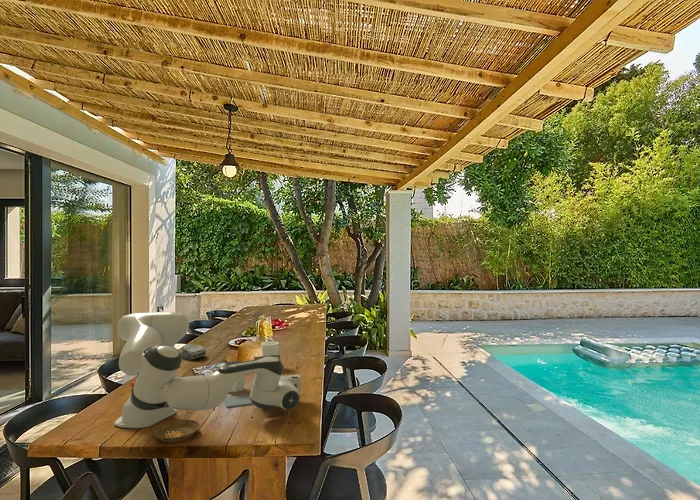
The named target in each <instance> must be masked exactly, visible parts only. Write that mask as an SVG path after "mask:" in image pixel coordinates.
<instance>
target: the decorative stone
mask: <svg viewBox="0 0 700 500" xmlns="http://www.w3.org/2000/svg"><path fill="white" fill-rule="evenodd" d="M180 351H181V352H180V353H181V355H182V359H185V360H188V361H191V360H195V359H199V358H202V357H204V356H206V354H207V353H206V352H207V350H206V349H205V348H204V346H203V345H195V344H190V343H188V344H185V345H183V347H182V348H181V350H180Z"/></svg>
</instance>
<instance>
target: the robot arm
mask: <svg viewBox="0 0 700 500" xmlns="http://www.w3.org/2000/svg"><path fill="white" fill-rule="evenodd" d="M189 327H190V320H189V318H188V317H187V315H186V314H184V313H181V312H175V311H161V312H159V311H156V312H155V311H153V312H135V313H129V314H126V315H123V316H122V317H121V318H120V319H119V321H118V322H117V325H116V333H117V335H118V337H119V338H120V339H121V340H122V341H126V342H125V344H124V346H122V349H121V352H120V355H119V358H118V367H119V370H120V371H121V372H122V373H123V374H125V375H127V376H130V377H136V379H135V381H131V382H130V384H129V385H130V388H132V389H131V393H130V396H129V398H127V401H126V402H125V403H124V405H123V406H122V410H121V411H122V412H121V416H120V417H118V418H117V419H116V420H115V421H114V424H113V425H114V426H116V427H119V428H125V429H126V428H127V429H140V428H141V429H143V428H149V427H151V426H153V425H155V424H157V423H158V422H161V421H162V420H164V419H167V418H168V417H170V416H172V415H174V414H176V413H177V412H178V411H177V410H180V411H192V412H193V411H208V410H213V409H215V408H217V407H219V406H220V405H221V404H222V403H223V402H225V398H226V397H228V395H229V393H230V392H229V391H230V389H231V388H232V386H233V385H234V383H235V382H236V381H237V379H238V378H240V377H241V376H243V375H244V376H247V375H252V374H254V377H253V380H252V381H251V388H250V389H251V390H250V393H249V394H250V397H249V398H250V400H251V402H252V403H253V404H252V405H254V406H255V407H256V408H259V409H261V410H274V409H276V408H278V407H279V408H281V409H283V410H285V411H290V410H293V409H295V408H296V407H297V406H298V404H299V402H300V393H301V392H302V376H301V375H300V374H290V375H287V374H283V371H284V369H285V368H284V365H283V363H282V361H281V359H280V360H279V359H278V358H275V357H263V358H260V359H256V360H254V359H251V360H246V361H245V360H244V361H241V362H238V363H232V364H227V365H225V364H224V365H221V366H220V367H219V368H217V369H216V370H215V371H214V372H211V373H210V374H206V375H205V374H204V375H191V376H189V375H188V376H183V377H181V376H179V375H177V373H178V371H179V368H180V367H181V364H182V359H183V358H182V355H181V352H180V351H179V350H178V349H177V348H176V347H174V346H175V345H176V344H177V343H178V342H179V341H180V340H181V339H183V338H184V337H185V336H186V335H187V333H188V331H189Z"/></svg>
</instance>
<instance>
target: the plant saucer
mask: <svg viewBox="0 0 700 500" xmlns="http://www.w3.org/2000/svg"><path fill="white" fill-rule="evenodd" d="M200 427H201V424H200V423H199V421H197V420H193V419H177V420H175V419H174V420H171V421H167V422H164V423H162V424H160V425H158V426H157V427H155V428H154V430H153V435H154V437H155V438H157V439H158V440H159V441H161V442H163V443H179V442H182V441H183V442H184V441H185V440H188V439H190V438H191V437H193V435H195V434H196V432H197V431H198V430H199V429H200ZM167 431H169V433H171V431H175V432H176V431H180V433H182V434H183V435H181V434H180V435H181V436H180V437H175V438H174V437H172V438H171V437H169V435H167V437H169V438H166V434H168V432H167ZM165 433H166V434H165ZM172 436H173V435H172ZM178 441H179V442H178Z"/></svg>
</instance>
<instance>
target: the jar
mask: <svg viewBox="0 0 700 500" xmlns="http://www.w3.org/2000/svg"><path fill="white" fill-rule="evenodd" d="M238 362H242V361H240V360H232V361H227V362H225V363H224V365H227V364H232V363H238ZM244 384H245V375H243V376H241V377H240V378H238V379H237V381H236V382H235V383H234V385H233V386H232V388H231V389H230V391H229V393H239V392H241V391H243V390H244V389H245V385H244Z"/></svg>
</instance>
